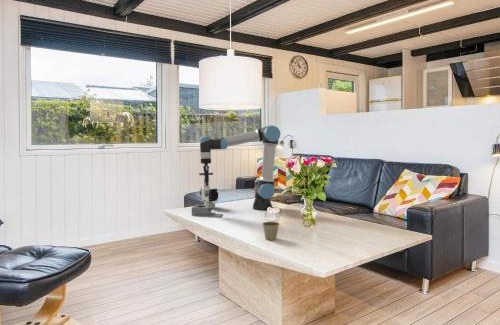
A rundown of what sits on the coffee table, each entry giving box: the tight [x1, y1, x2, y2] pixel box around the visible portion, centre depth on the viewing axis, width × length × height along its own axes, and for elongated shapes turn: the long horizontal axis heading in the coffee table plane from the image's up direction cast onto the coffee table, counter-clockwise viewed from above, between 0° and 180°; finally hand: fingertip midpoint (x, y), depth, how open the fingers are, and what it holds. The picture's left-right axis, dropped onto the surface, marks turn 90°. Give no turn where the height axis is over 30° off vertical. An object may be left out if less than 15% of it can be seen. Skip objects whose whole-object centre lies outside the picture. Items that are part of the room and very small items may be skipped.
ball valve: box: [199, 185, 219, 210], centre depth 289 cm, size 18×8×18 cm, turn 37°
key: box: [198, 172, 214, 197], centre depth 265 cm, size 4×10×17 cm, turn 100°
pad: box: [208, 213, 224, 218], centre depth 262 cm, size 9×9×1 cm
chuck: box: [191, 204, 212, 217], centre depth 269 cm, size 12×12×6 cm
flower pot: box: [262, 221, 280, 241], centre depth 203 cm, size 9×9×9 cm
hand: (206, 189), depth 265 cm, fingers closed on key, 3 cm apart
